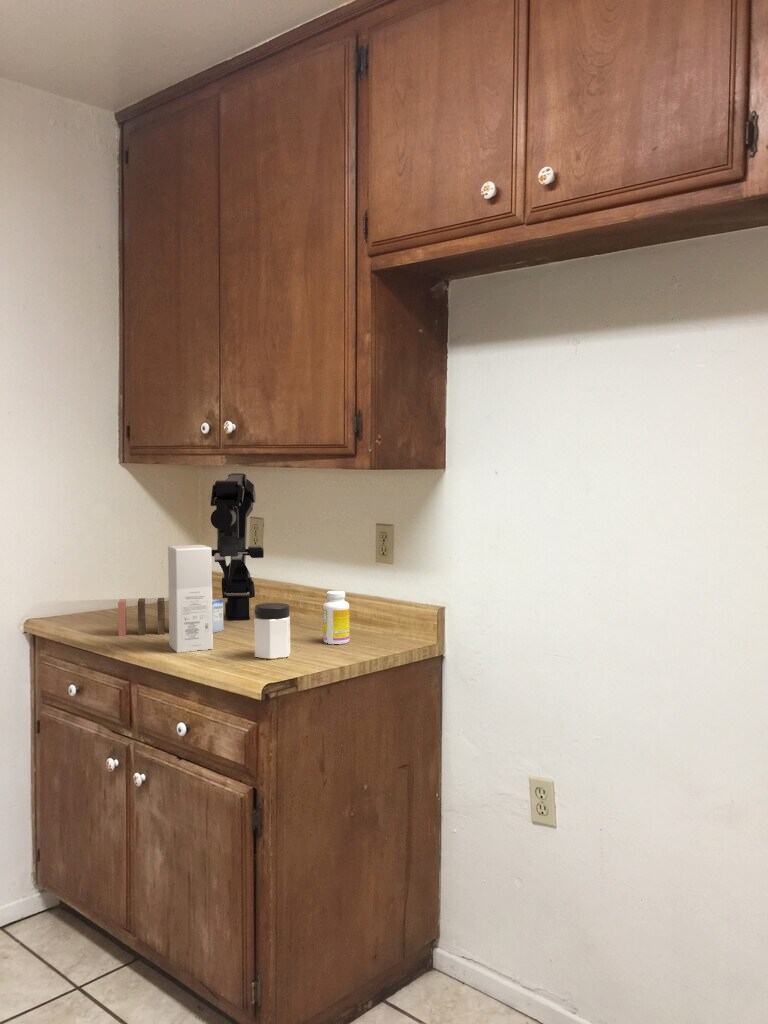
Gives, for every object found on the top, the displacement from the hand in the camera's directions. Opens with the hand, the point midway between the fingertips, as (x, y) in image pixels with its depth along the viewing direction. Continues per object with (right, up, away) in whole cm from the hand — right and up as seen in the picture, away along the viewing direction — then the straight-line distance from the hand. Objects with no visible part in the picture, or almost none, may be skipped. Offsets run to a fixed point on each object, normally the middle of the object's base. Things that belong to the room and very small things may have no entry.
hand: (228, 584), depth 238 cm
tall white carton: (-5, -14, -22) cm, 27 cm away
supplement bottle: (+30, -14, -16) cm, 37 cm away
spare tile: (-27, -13, -5) cm, 30 cm away
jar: (+16, -15, -31) cm, 37 cm away
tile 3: (-22, -13, -4) cm, 26 cm away
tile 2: (-18, -13, -3) cm, 22 cm away
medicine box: (-6, -13, -1) cm, 14 cm away
